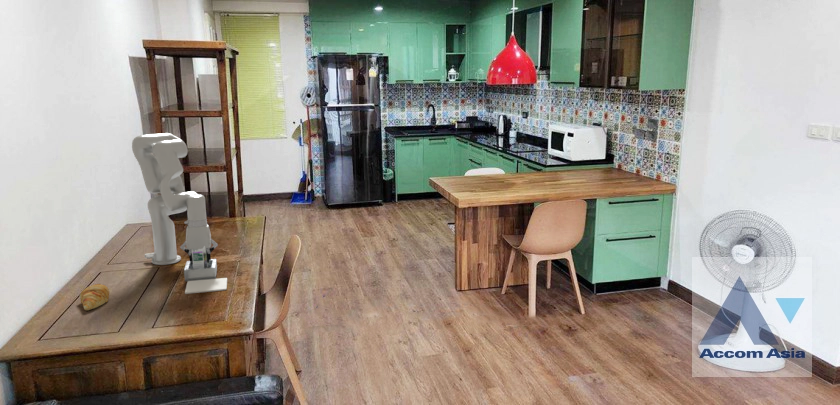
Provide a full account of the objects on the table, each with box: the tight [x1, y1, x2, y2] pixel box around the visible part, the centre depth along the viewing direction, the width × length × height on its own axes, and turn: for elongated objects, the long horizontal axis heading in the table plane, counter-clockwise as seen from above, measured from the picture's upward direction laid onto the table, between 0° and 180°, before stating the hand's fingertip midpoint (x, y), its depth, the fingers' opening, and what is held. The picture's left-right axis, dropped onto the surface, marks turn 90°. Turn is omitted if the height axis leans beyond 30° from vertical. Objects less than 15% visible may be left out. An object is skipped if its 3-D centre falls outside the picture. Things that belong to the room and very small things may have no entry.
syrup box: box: [192, 246, 208, 268], centre depth 246 cm, size 6×6×14 cm
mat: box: [184, 277, 228, 295], centre depth 235 cm, size 16×13×1 cm
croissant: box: [79, 283, 110, 311], centre depth 217 cm, size 21×10×8 cm, turn 15°
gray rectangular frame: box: [183, 258, 218, 282], centre depth 250 cm, size 12×19×5 cm, turn 17°
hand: (200, 261), depth 246 cm, fingers closed on syrup box, 5 cm apart
